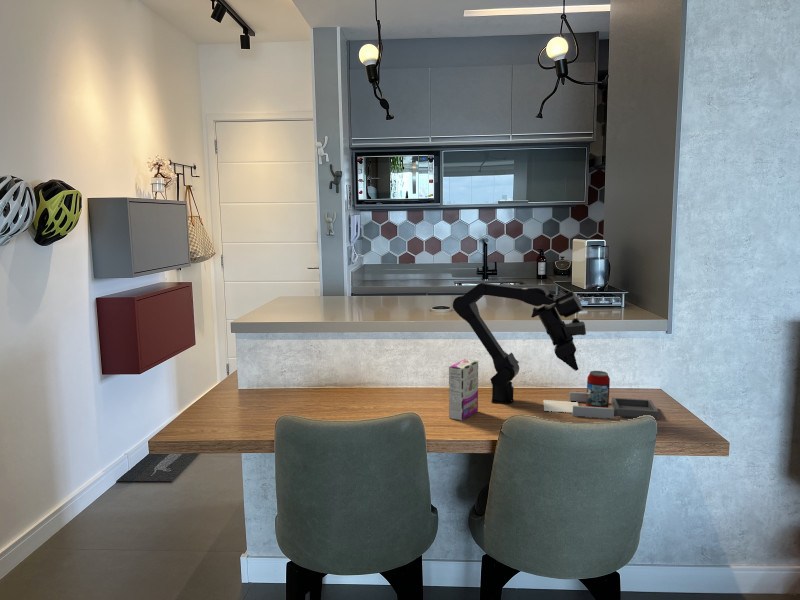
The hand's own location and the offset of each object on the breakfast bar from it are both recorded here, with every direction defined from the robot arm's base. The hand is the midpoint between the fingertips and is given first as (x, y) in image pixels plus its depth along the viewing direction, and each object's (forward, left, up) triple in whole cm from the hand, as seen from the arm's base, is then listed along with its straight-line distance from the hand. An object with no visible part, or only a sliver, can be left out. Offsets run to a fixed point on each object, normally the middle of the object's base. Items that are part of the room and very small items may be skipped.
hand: (575, 365), depth 193 cm
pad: (-4, -1, -14) cm, 14 cm away
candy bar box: (-34, -15, -14) cm, 40 cm away
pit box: (+18, -1, -14) cm, 23 cm away
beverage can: (+7, -1, -14) cm, 16 cm away
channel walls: (+5, -1, -14) cm, 15 cm away
